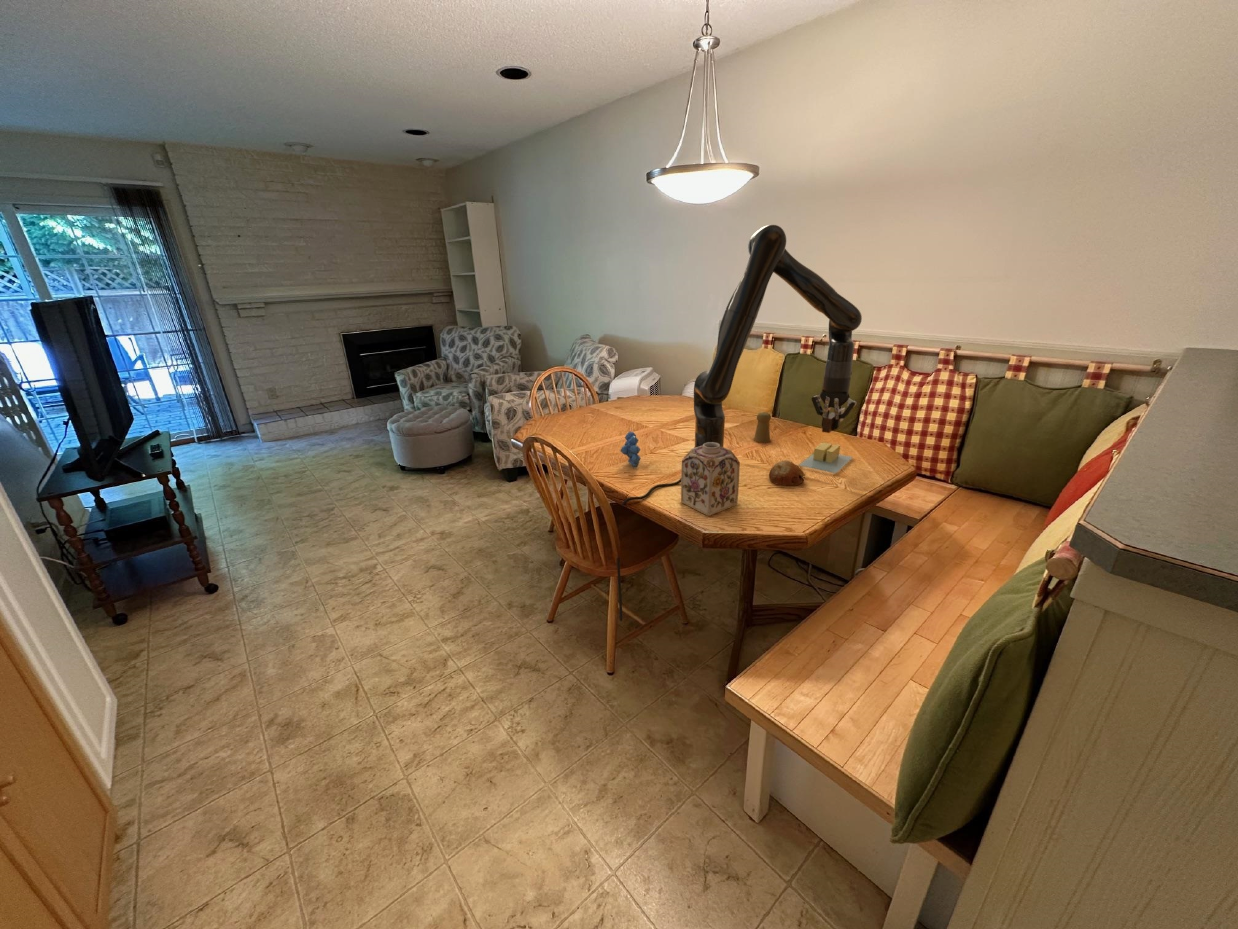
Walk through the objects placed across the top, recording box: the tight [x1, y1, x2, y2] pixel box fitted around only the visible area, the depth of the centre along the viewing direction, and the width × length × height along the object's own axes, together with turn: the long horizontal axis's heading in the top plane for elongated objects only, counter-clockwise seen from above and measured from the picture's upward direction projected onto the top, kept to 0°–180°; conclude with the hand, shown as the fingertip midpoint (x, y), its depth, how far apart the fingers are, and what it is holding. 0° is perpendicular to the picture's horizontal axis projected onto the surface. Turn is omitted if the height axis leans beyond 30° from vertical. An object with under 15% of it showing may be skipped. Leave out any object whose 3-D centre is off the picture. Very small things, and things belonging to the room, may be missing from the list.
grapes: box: [620, 430, 642, 469], centre depth 164 cm, size 12×7×12 cm, turn 14°
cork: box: [753, 411, 772, 444], centre depth 185 cm, size 6×6×11 cm
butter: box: [813, 442, 833, 461], centre depth 164 cm, size 8×3×4 cm, turn 140°
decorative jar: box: [680, 442, 741, 517], centre depth 133 cm, size 12×12×18 cm
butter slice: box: [826, 444, 841, 463], centre depth 162 cm, size 8×2×4 cm, turn 140°
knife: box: [821, 407, 846, 434], centre depth 154 cm, size 17×2×4 cm, turn 140°
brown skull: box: [768, 460, 806, 487], centre depth 149 cm, size 10×10×8 cm
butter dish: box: [798, 453, 854, 474], centre depth 162 cm, size 18×12×1 cm, turn 140°
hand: (829, 429), depth 151 cm, fingers closed on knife, 2 cm apart
